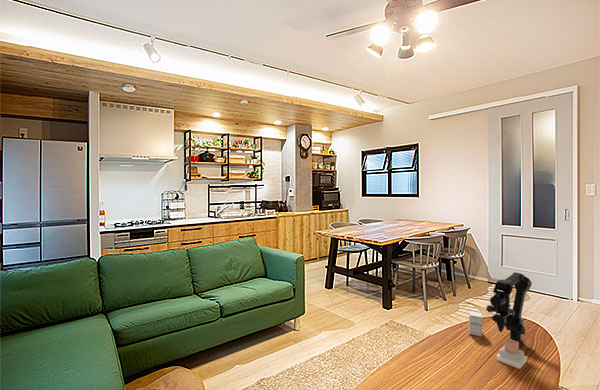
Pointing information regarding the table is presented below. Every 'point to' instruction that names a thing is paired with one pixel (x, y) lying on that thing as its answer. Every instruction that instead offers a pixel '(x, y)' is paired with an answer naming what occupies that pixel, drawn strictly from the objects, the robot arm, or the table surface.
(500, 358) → the tower base
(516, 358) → the tower top
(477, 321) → the supplement box
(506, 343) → the cube
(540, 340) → the table surface
